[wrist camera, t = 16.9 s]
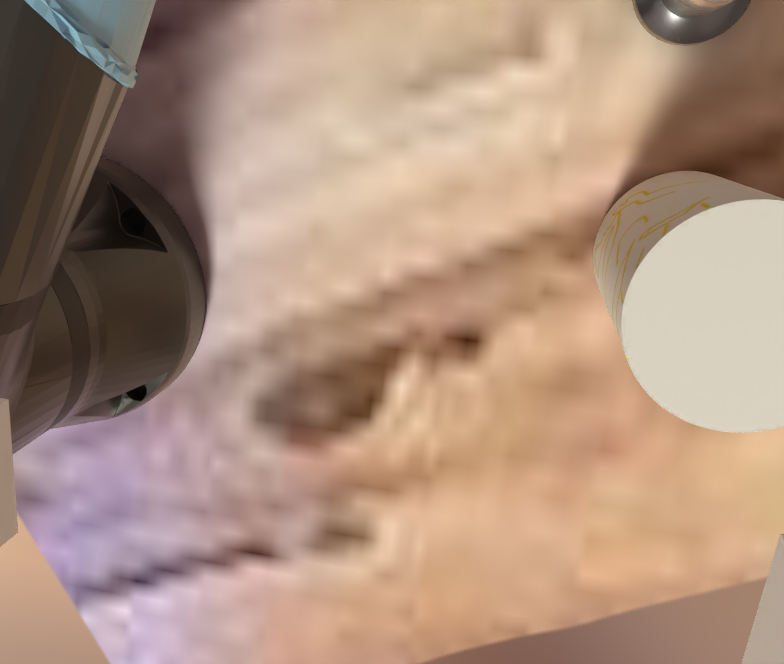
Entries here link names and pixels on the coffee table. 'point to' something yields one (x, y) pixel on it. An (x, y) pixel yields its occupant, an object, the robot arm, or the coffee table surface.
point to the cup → (699, 297)
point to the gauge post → (688, 18)
